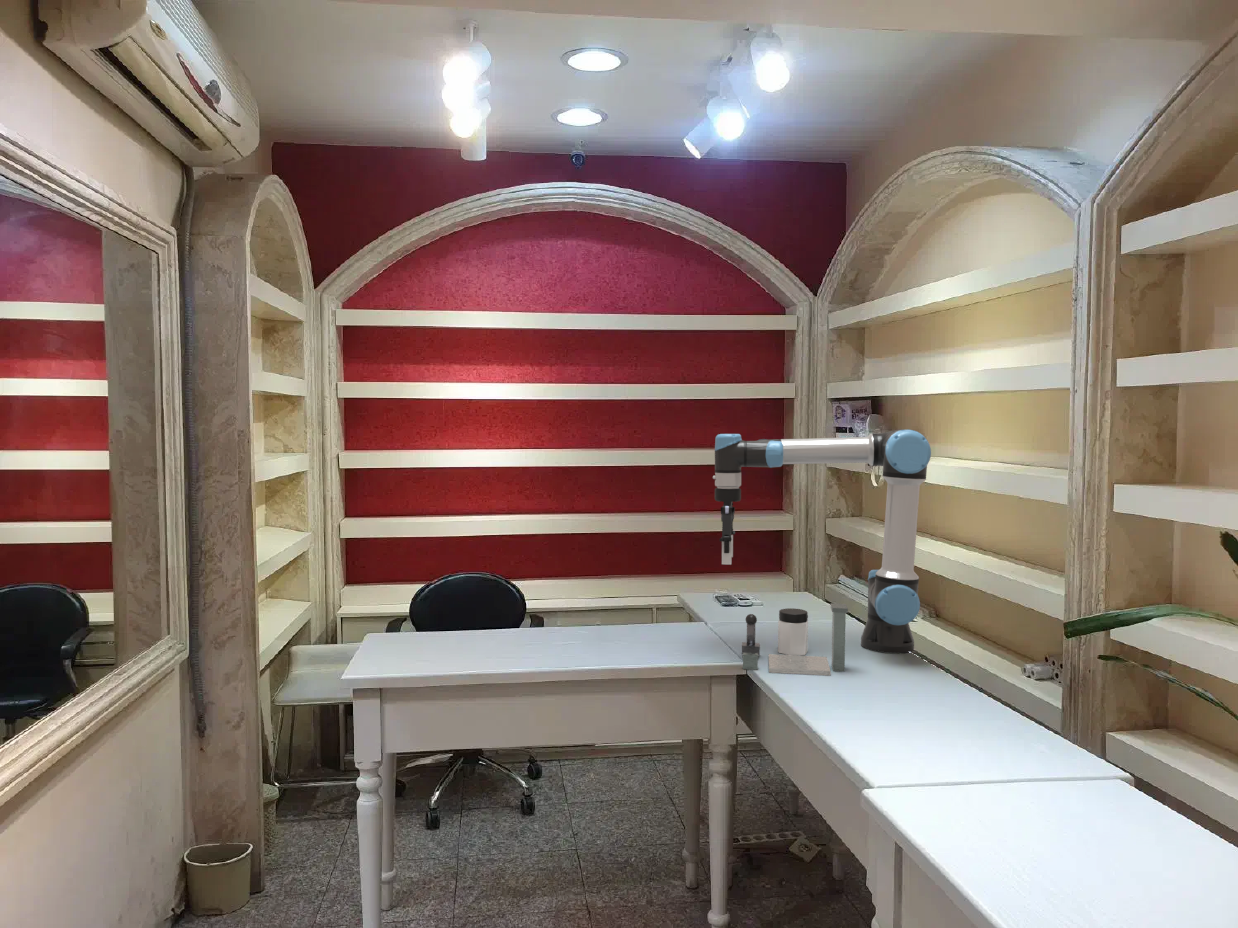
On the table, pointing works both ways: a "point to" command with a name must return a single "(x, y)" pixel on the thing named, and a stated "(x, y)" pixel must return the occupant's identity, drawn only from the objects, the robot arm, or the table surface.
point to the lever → (751, 636)
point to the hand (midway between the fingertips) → (727, 560)
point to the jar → (793, 632)
